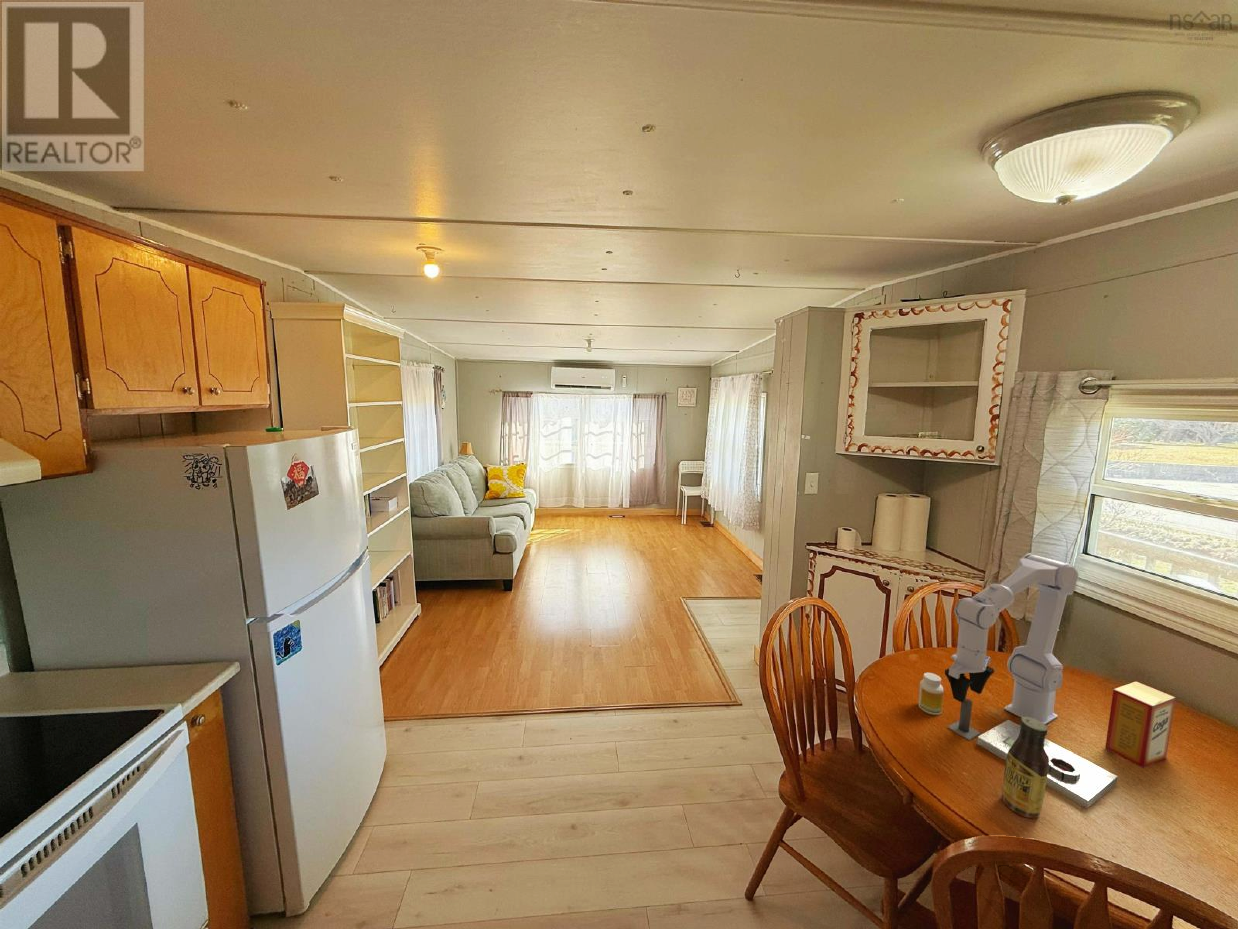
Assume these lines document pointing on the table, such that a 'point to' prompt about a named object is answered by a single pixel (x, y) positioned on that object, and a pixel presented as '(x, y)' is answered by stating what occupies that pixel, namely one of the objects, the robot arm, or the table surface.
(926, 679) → the supplement bottle
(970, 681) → the robot arm
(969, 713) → the dark grey cylinder
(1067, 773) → the panel
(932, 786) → the table surface
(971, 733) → the pad
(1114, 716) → the baking soda box
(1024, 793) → the sauce bottle
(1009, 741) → the pad
